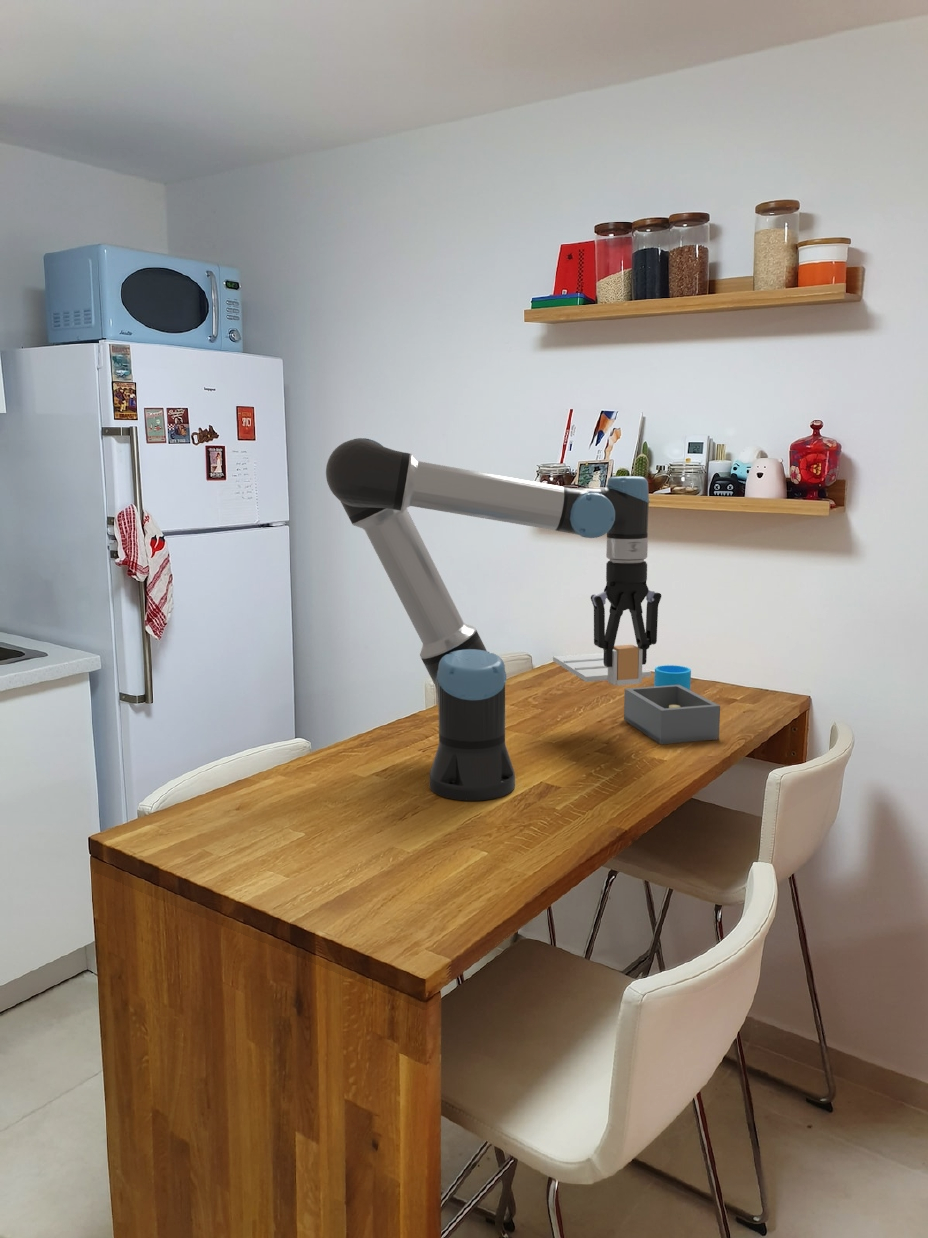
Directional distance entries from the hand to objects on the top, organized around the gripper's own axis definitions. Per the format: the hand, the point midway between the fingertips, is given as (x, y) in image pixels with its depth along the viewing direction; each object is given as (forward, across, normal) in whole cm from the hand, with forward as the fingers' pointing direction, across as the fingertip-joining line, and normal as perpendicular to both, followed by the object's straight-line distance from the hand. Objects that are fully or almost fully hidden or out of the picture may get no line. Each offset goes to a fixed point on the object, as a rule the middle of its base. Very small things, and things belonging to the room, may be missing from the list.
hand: (624, 682), depth 182 cm
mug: (+15, +28, +34) cm, 47 cm away
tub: (+15, +17, +14) cm, 26 cm away
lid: (0, 0, +10) cm, 10 cm away
